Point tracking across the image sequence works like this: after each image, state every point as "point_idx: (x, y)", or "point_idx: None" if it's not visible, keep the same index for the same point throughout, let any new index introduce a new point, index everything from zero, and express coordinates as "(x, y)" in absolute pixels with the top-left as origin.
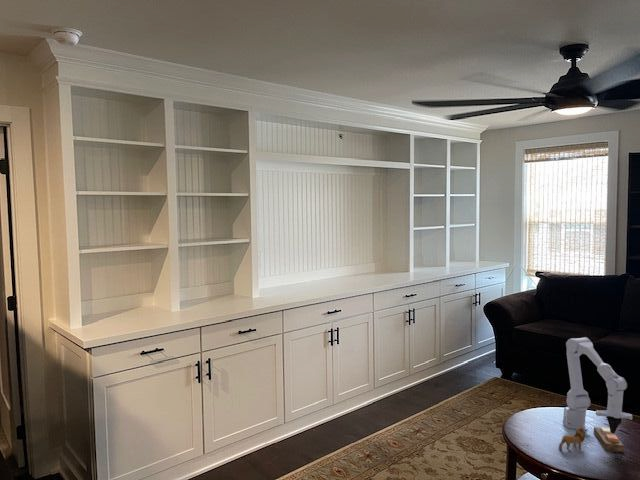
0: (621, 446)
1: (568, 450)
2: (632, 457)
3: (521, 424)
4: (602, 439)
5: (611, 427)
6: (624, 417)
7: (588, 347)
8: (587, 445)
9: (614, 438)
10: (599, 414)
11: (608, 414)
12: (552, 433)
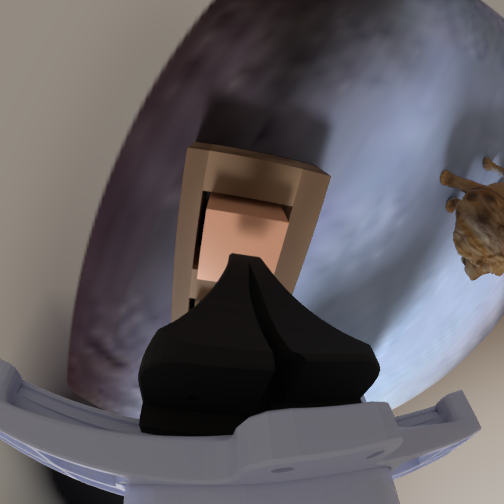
0: (208, 148)
1: (494, 163)
2: (173, 72)
3: (467, 343)
4: (308, 242)
5: (287, 290)
6: (77, 417)
7: None
8: (386, 218)
9: (238, 219)
10: (457, 413)
11: (424, 449)
12: (440, 310)
